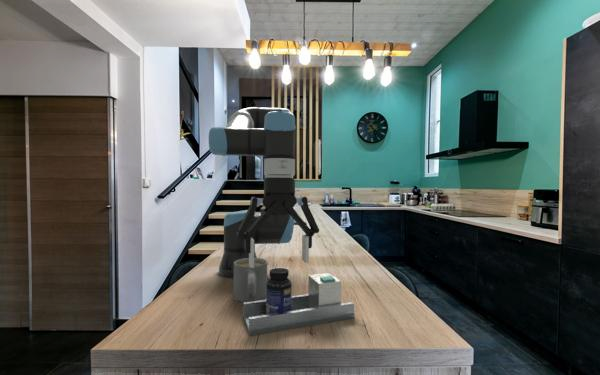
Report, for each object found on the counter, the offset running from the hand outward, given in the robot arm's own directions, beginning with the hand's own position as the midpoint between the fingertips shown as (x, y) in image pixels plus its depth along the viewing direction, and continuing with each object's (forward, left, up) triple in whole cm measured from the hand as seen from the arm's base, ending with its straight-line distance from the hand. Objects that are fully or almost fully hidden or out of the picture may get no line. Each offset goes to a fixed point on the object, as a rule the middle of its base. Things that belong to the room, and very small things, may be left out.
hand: (279, 263), depth 69 cm
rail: (0, +5, -14) cm, 14 cm away
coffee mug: (-16, -5, -14) cm, 22 cm away
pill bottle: (0, 0, -13) cm, 13 cm away
